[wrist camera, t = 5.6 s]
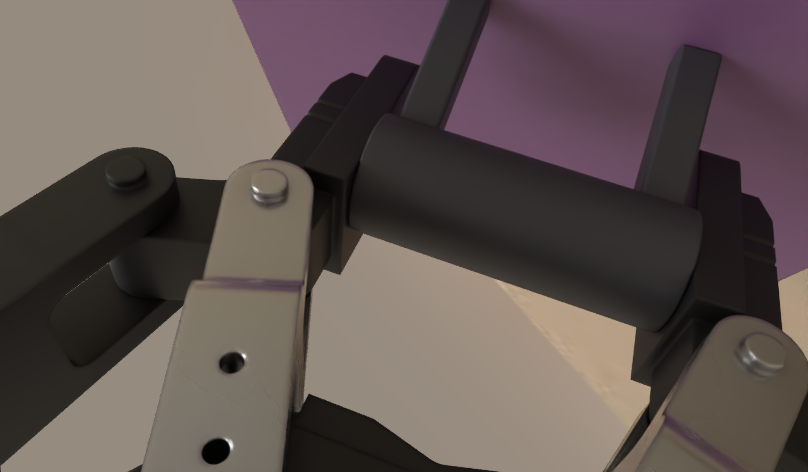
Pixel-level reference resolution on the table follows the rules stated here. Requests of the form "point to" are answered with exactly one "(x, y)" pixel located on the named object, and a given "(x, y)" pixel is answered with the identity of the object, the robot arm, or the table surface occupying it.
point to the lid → (560, 131)
